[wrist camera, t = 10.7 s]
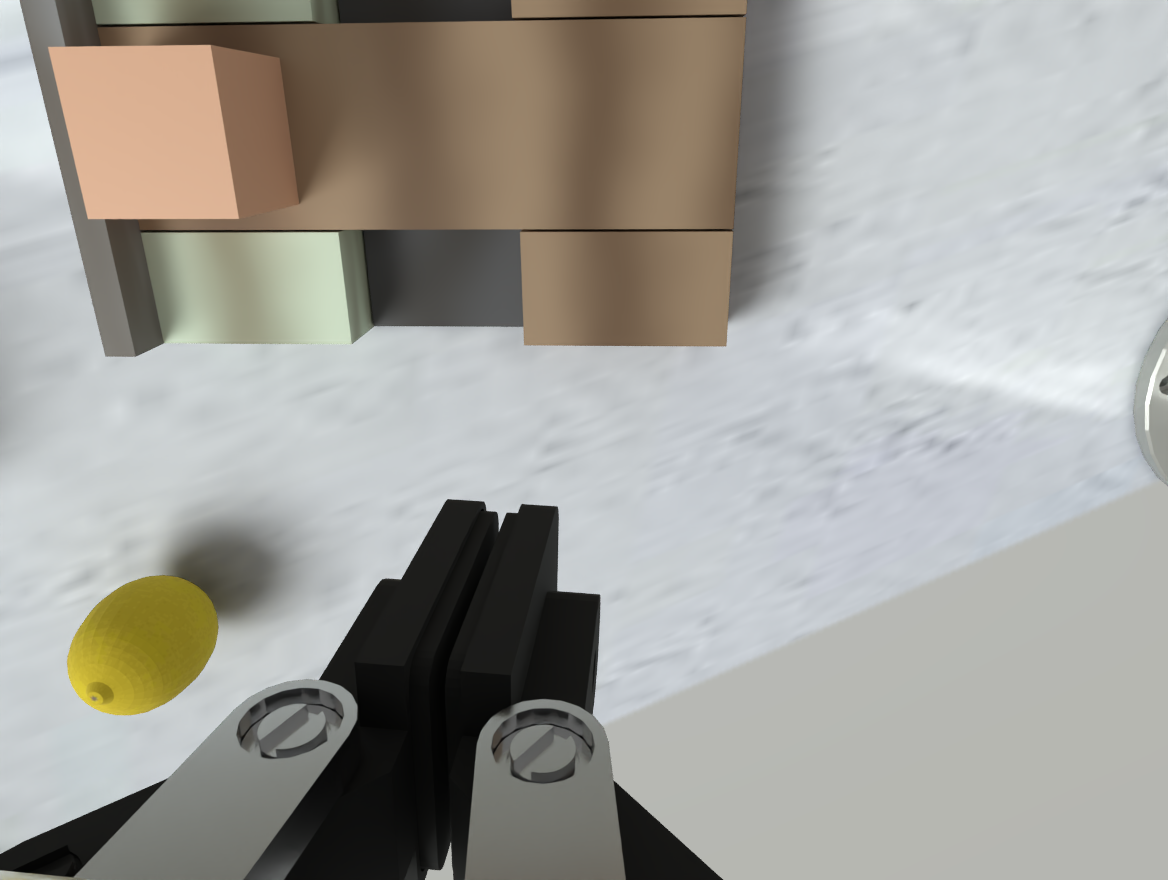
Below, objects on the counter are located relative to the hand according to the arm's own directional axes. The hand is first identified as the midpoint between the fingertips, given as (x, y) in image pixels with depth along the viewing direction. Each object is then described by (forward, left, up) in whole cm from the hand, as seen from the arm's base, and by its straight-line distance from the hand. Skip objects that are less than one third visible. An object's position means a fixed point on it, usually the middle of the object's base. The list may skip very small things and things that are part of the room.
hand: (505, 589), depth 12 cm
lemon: (+20, +16, -24) cm, 35 cm away
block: (+13, -6, -20) cm, 25 cm away
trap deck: (+6, -6, -23) cm, 25 cm away
